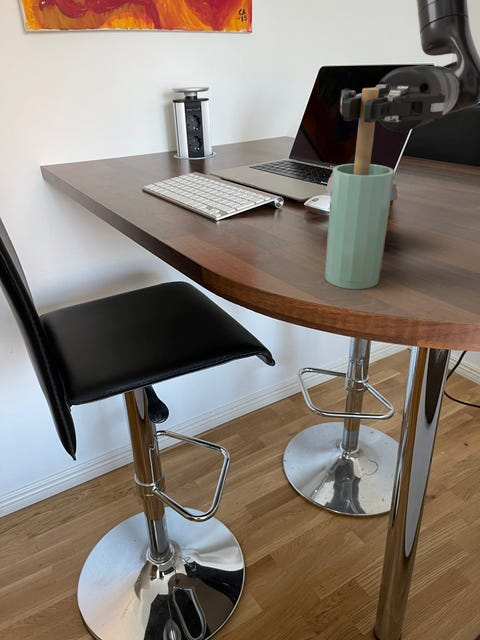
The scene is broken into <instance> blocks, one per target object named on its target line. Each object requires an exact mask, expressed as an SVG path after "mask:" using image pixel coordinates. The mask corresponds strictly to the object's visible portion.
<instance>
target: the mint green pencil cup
mask: <svg viewBox="0 0 480 640" xmlns="http://www.w3.org/2000/svg"><path fill="white" fill-rule="evenodd" d="M354 164H355V163H346V164H345V163H344V164H340V165H336V166H334V167H332V172H331V174H332V186H331V199H330V201H329V212H328V213H329V214H328V225H327V236H326V237H327V238H326V249H325V250H326V251H325V252H326V253H325V265H324V269H325V270H324V279H325V280H326V282H327V283H329V284H331V285H333V286H335V287H338V288H341V289H347V290H348V289H349V290H367V289H370V288H373V287H375V286H377V285H378V284H379V282H380V277H381V272H382V264H383V258H384V251H385V243H386V237H387V232H386V229H387V230H388V227H387V222H388V214H389V207H390V200H391V192H392V185H393V184H394V177H395V170H394V169H393V168H392V167H389V166H385V165H380V164H375V163H374V164H373V163H370V169H369V175H353V173H354Z"/></svg>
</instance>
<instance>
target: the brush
mask: <svg viewBox="0 0 480 640" xmlns="http://www.w3.org/2000/svg"><path fill="white" fill-rule="evenodd" d="M361 93H362V98H361V107H360V117H359V119H358V126H357V136H356V145H355V156H354V163H353V164H354V173H353V175H369V169H370V164H371V161H372V160H371V159H372V151H373V144H374V135H375V126H376V121H375V122H372V123H369V122H364V113H365V104H366V101H367V100H371V99H376V98H378V95H379V89H377V88H374V87H364V88H362V90H361Z"/></svg>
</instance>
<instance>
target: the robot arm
mask: <svg viewBox="0 0 480 640" xmlns="http://www.w3.org/2000/svg"><path fill="white" fill-rule="evenodd" d="M416 8H417V20H418V29H419V38H420V46H421V50H422V52H423V53H424V54H425V55H427V56H431V57H436V56H444V55H451V54H452V55H454V54H455V56H456V61H453V62H451V63H448V64H445V65H441V66H440V65H425V64H424V65H413V66H405V67H397V68H396V69H393V70H391V71H389V72H388V73H386V75H385V76H383V77H382V78H381V80H380V81H379V82H378V84H376V85H375V87H373V88H377V89H379V95H378V98H376V99H371V100H367V101H366V104H365V113H364V122H369V123H372V122H375V123H376V122H379V123H380V125H381V126H383V127H384V128H386V129H387V130H389V131H391V132H395V133H396V132H397V133H403V132H408V131H411V130H413V129H416V128H419V127H422V126H425V125H427V124H429V123H431V122H433V121H434V120H439V119H443V116H446V115H449V114H453V113H455V112H459V111H462V110H465V109H468V108H471V107H474V106H476V105H479V104H480V54H479V53H478V50H477V48H476V45H475V42H474V39H473V36H472V31H471V27H470V26H471V25H470V18H469V8H468V0H416ZM356 93H357V92H356V90H352V89H349V88H344V89H341V95H340V104H339V105H340V107H339V112H340V114H341V117H343V121H347V122H351V121H355V120H359V117H360V107H361V98H362V92H361V93H360V92H359V93H357V94H356Z"/></svg>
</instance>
